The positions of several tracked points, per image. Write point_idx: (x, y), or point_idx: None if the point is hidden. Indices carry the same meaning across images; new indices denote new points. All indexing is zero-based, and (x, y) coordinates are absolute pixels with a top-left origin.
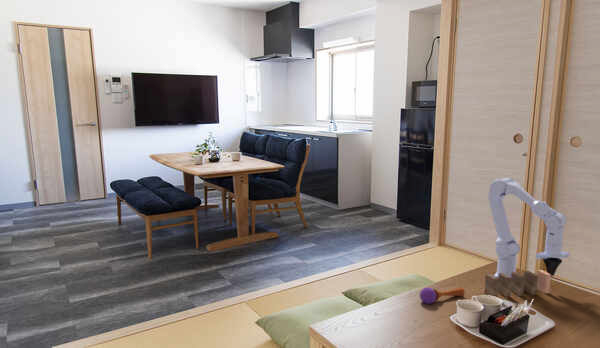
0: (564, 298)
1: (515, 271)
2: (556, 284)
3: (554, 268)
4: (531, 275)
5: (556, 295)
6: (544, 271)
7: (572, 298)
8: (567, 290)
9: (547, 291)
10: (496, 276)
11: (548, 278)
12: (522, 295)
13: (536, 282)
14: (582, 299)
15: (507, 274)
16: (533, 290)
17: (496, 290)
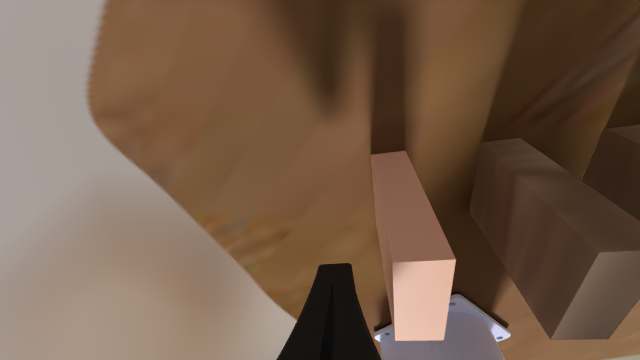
0: (319, 64)
1: (387, 350)
2: (248, 248)
3: (322, 340)
4: None
5: (345, 118)
6: (399, 317)
7: (256, 62)
8: (225, 183)
9: (387, 159)
10: (505, 329)
11: (411, 227)
12: (610, 128)
13: (548, 194)
14: (187, 41)
15: (480, 334)
16: (527, 153)
17: None
